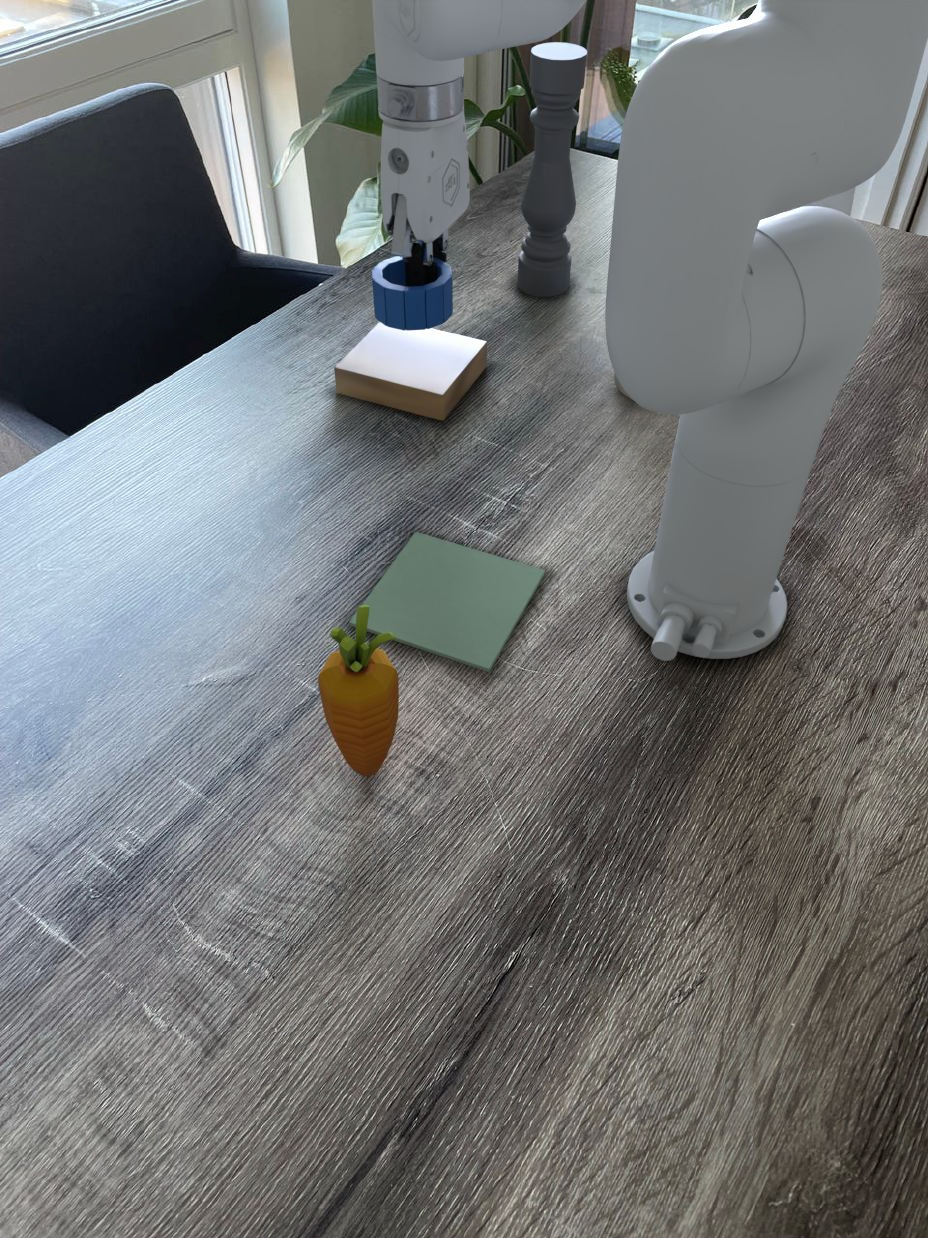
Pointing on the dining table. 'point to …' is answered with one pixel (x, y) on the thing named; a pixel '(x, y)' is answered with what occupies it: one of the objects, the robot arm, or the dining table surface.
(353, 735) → the carrot
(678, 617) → the robot arm
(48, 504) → the dining table surface
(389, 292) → the ring
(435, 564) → the mat
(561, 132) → the candle holder
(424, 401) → the platform
